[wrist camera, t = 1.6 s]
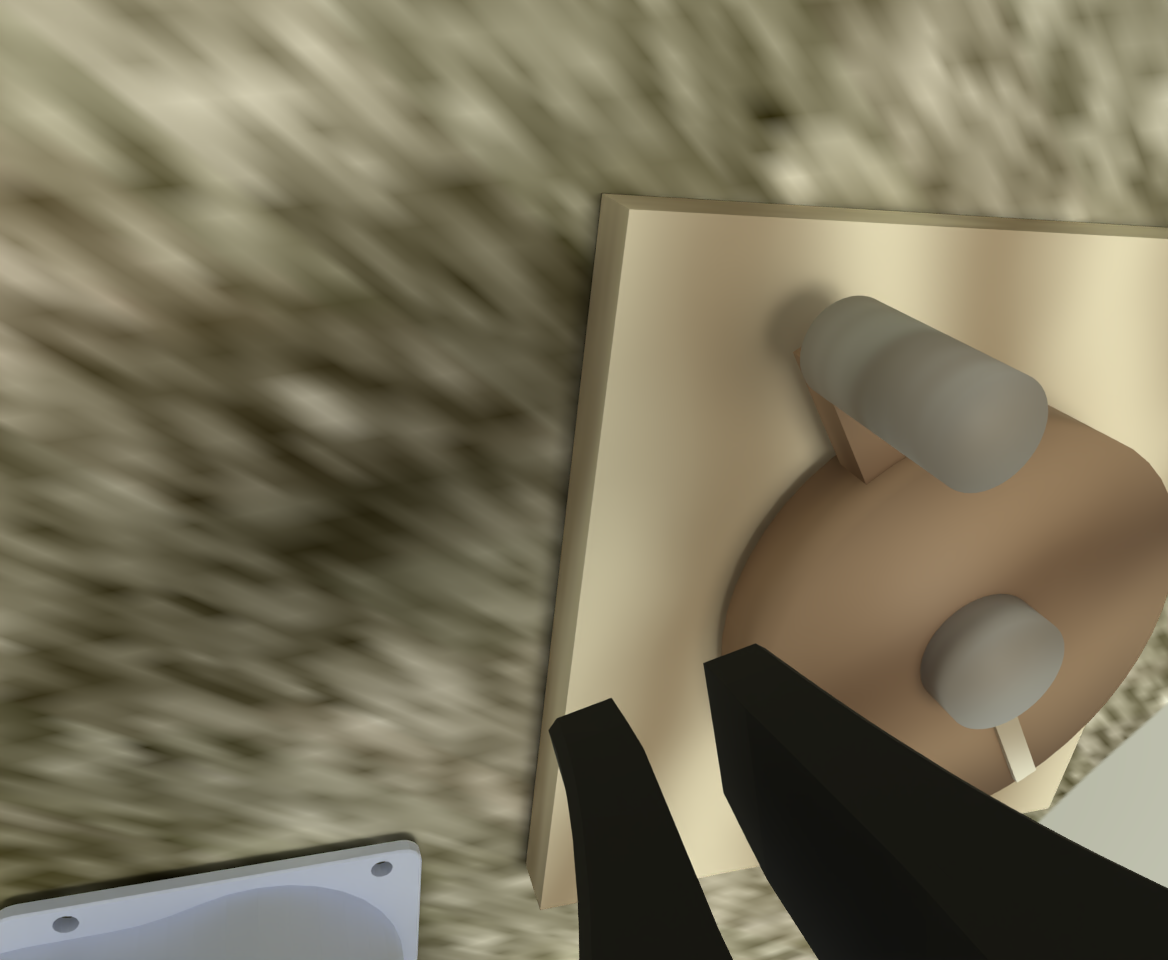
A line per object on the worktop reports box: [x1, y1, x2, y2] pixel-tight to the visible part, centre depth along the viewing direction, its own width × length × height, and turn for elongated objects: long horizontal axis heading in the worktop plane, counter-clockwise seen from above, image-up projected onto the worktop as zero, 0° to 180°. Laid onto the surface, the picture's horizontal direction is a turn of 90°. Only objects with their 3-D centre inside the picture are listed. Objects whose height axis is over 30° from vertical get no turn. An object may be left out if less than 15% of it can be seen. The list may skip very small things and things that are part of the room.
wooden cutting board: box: [526, 193, 1168, 910], centre depth 24 cm, size 17×18×2 cm
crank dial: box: [721, 296, 1168, 795], centre depth 20 cm, size 15×11×5 cm
